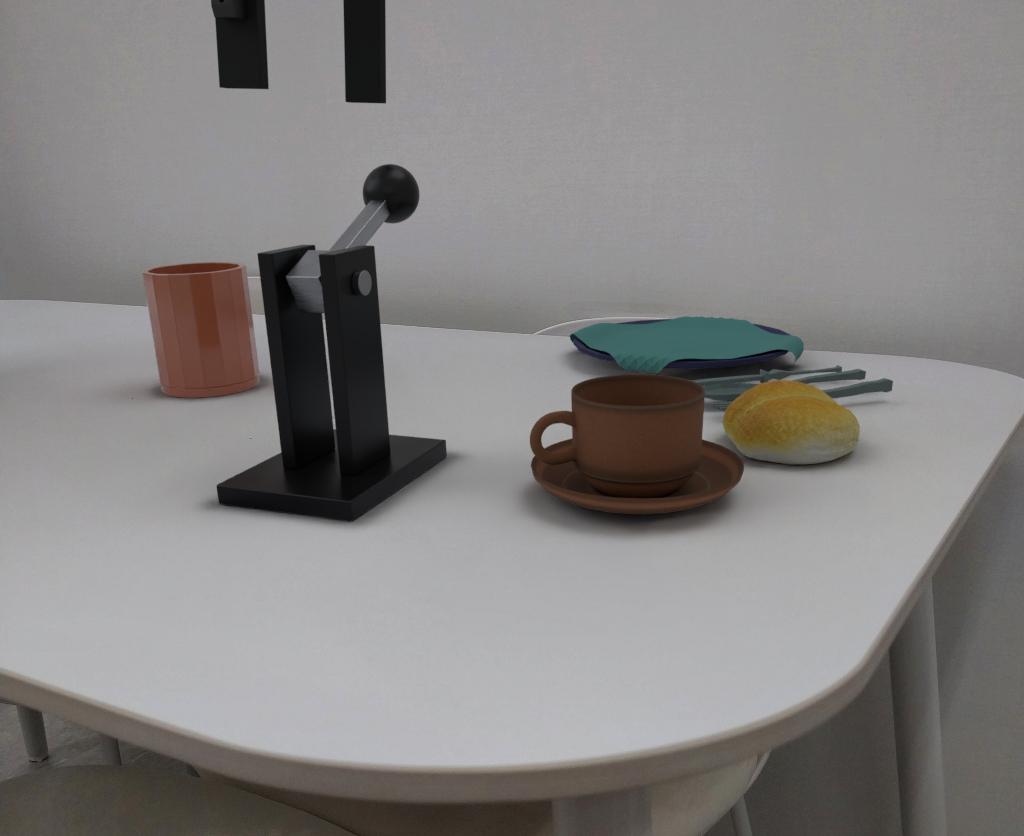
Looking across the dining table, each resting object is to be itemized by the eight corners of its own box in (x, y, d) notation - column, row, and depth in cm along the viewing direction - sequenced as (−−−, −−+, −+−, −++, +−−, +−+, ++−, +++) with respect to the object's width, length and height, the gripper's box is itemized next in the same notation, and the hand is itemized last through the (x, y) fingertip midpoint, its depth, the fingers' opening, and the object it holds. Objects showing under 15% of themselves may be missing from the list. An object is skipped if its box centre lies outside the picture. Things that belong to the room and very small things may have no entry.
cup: (140, 394, 82) (119, 273, 78) (203, 372, 89) (187, 261, 85) (219, 400, 79) (202, 275, 75) (278, 378, 86) (264, 262, 82)
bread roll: (747, 471, 59) (751, 407, 57) (712, 430, 67) (714, 373, 66) (881, 465, 59) (888, 401, 58) (829, 424, 68) (834, 368, 66)
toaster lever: (385, 205, 65) (370, 154, 62) (434, 205, 63) (420, 153, 61) (292, 320, 56) (270, 266, 54) (346, 323, 55) (325, 268, 53)
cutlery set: (728, 331, 100) (730, 309, 99) (918, 400, 73) (922, 370, 72) (545, 347, 95) (544, 324, 94) (675, 427, 68) (676, 395, 67)
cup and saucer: (621, 551, 48) (622, 432, 46) (492, 487, 58) (488, 386, 55) (787, 499, 54) (796, 392, 52) (646, 449, 64) (648, 356, 61)
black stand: (329, 445, 67) (308, 237, 62) (447, 457, 63) (435, 239, 58) (218, 504, 56) (182, 260, 51) (352, 522, 53) (327, 264, 48)
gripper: (206, -480, 40) (238, 81, 47) (456, -251, 62) (451, 108, 69) (65, -450, 42) (116, 79, 50) (353, -240, 64) (359, 106, 72)
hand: (311, 97), depth 60 cm, fingers open, 13 cm apart
